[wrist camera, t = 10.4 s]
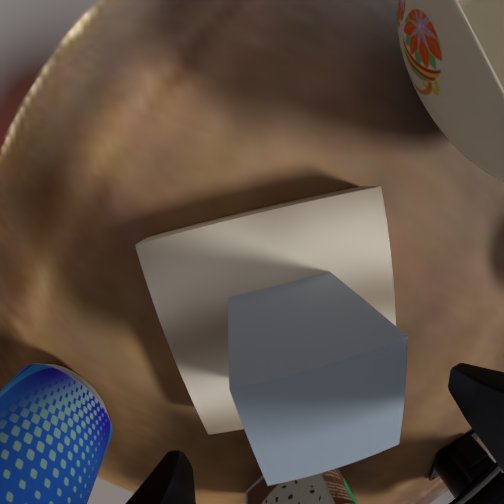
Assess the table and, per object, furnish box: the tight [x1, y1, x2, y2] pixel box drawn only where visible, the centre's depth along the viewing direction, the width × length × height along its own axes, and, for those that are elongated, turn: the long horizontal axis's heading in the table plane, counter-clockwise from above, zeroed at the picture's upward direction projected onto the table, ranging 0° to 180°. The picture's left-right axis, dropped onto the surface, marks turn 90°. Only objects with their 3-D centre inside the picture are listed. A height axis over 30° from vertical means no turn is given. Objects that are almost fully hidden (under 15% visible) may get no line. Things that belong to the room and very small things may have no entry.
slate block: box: [228, 272, 407, 486], centre depth 11 cm, size 5×5×7 cm
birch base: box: [135, 186, 396, 435], centre depth 16 cm, size 12×12×2 cm
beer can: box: [0, 363, 112, 504], centre depth 10 cm, size 8×8×16 cm
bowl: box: [397, 0, 504, 182], centre depth 10 cm, size 16×16×10 cm
